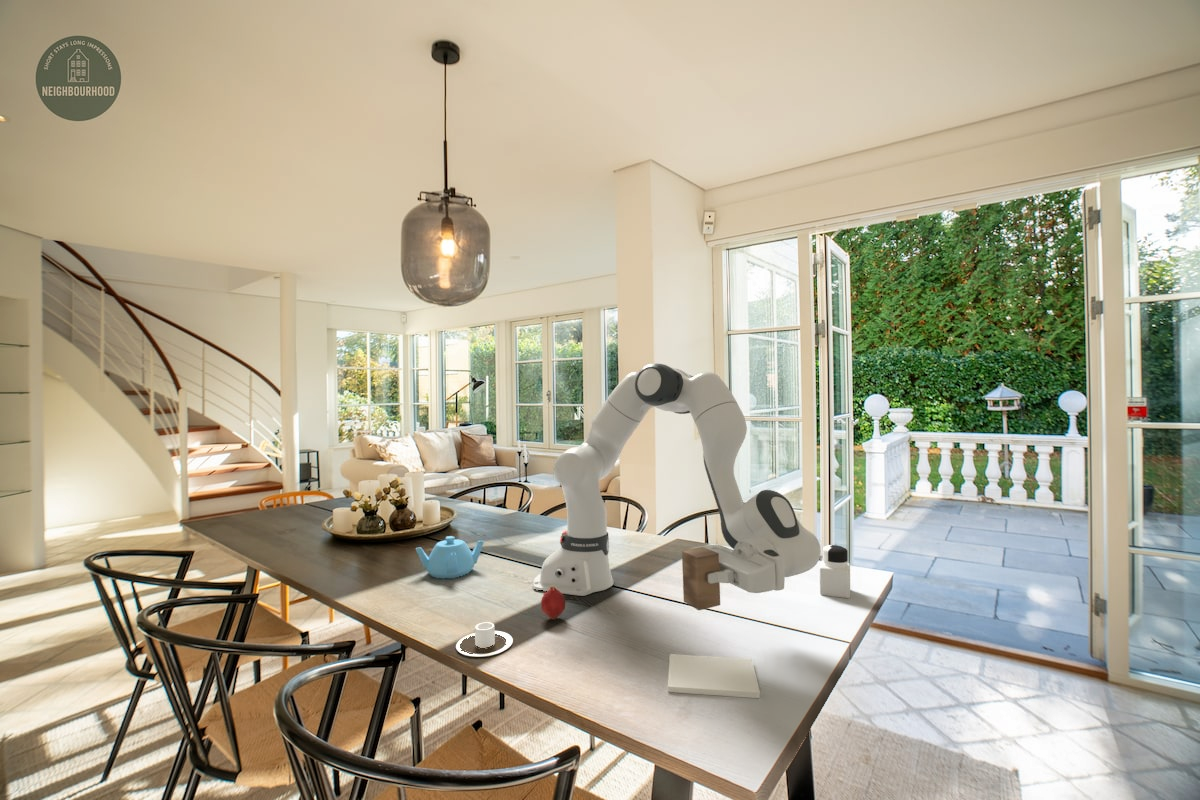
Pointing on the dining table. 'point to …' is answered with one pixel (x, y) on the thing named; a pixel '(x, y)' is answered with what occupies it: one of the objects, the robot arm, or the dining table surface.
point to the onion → (553, 603)
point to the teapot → (450, 558)
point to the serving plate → (712, 676)
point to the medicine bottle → (835, 572)
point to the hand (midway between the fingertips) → (697, 573)
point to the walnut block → (700, 578)
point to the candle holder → (485, 639)
